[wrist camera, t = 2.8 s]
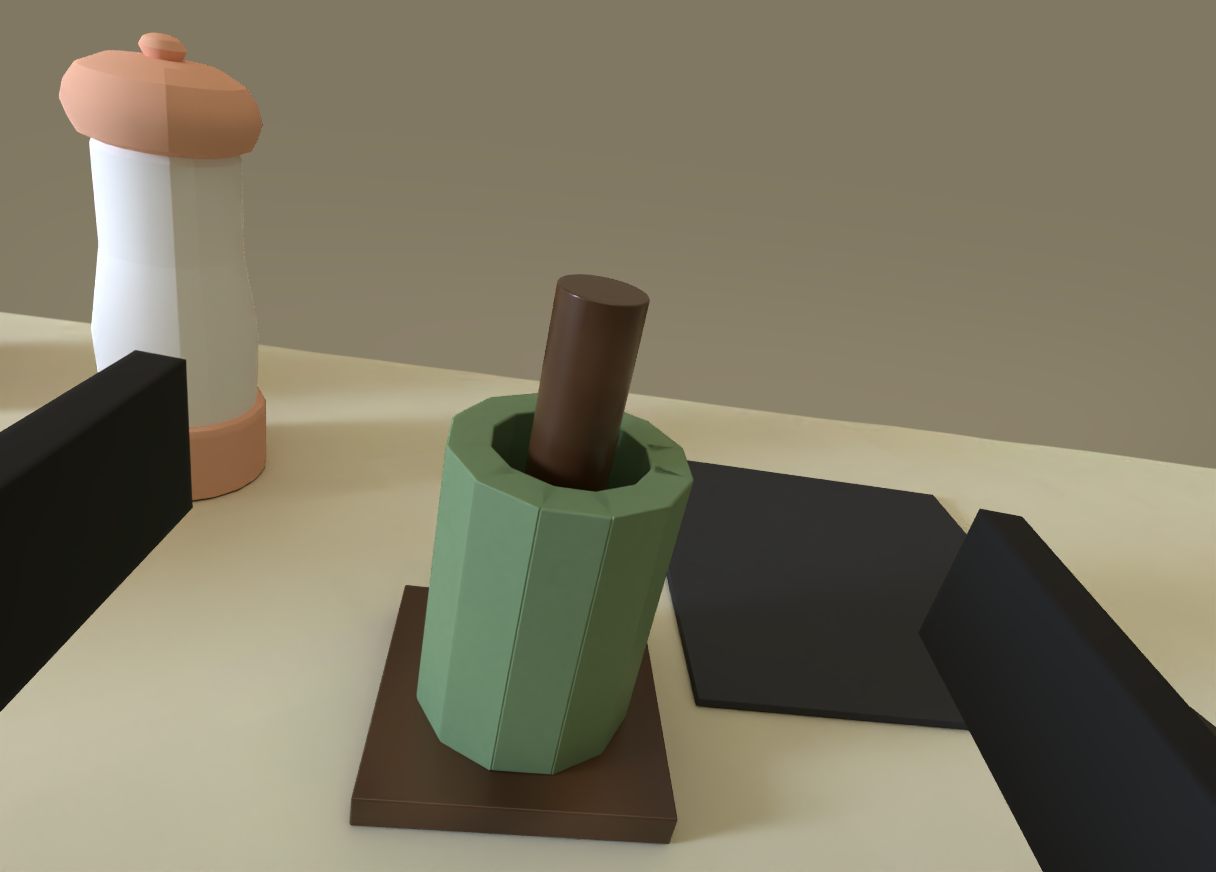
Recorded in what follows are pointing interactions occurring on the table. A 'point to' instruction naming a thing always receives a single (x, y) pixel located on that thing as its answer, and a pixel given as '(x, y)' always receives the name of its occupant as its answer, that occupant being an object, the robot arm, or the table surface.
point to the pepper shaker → (176, 238)
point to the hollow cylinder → (542, 591)
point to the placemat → (811, 596)
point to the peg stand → (399, 730)
